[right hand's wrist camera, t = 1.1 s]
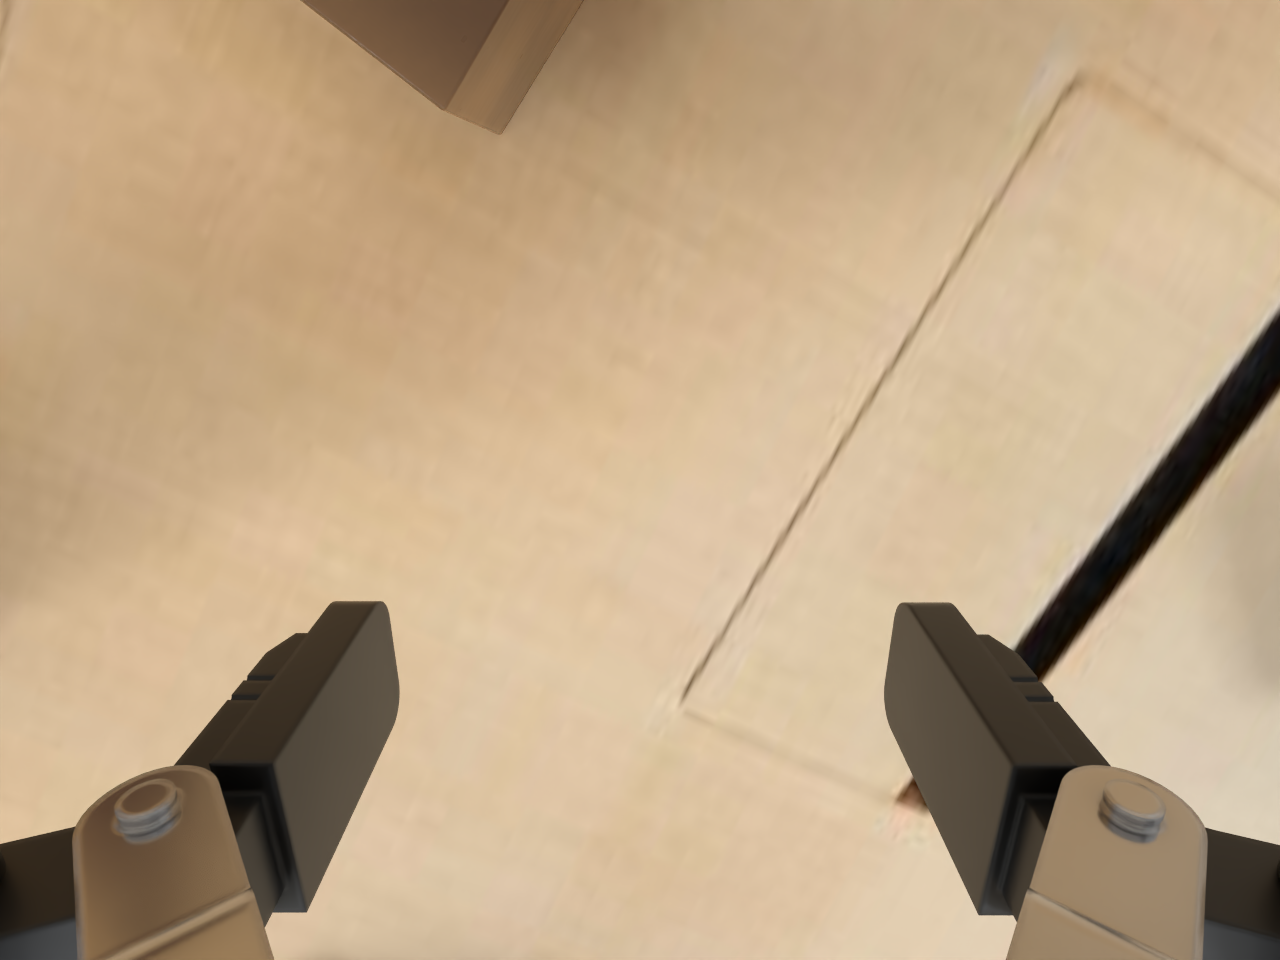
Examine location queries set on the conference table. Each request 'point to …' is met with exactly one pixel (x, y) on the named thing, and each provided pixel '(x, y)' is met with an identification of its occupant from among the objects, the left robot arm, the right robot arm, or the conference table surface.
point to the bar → (458, 47)
